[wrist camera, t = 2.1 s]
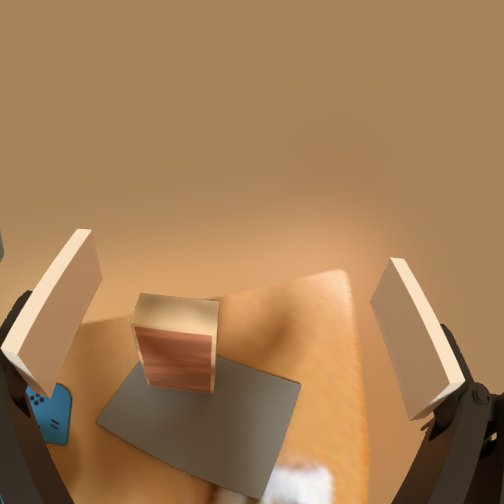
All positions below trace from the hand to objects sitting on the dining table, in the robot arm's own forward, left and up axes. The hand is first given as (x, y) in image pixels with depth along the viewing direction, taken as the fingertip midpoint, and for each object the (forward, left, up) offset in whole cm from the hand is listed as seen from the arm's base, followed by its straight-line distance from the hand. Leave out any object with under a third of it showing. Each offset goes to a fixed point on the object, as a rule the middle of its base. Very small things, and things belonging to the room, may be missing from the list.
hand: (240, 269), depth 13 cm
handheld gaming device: (-24, -9, -27) cm, 37 cm away
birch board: (-8, +7, -25) cm, 27 cm away
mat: (-4, +4, -26) cm, 27 cm away
